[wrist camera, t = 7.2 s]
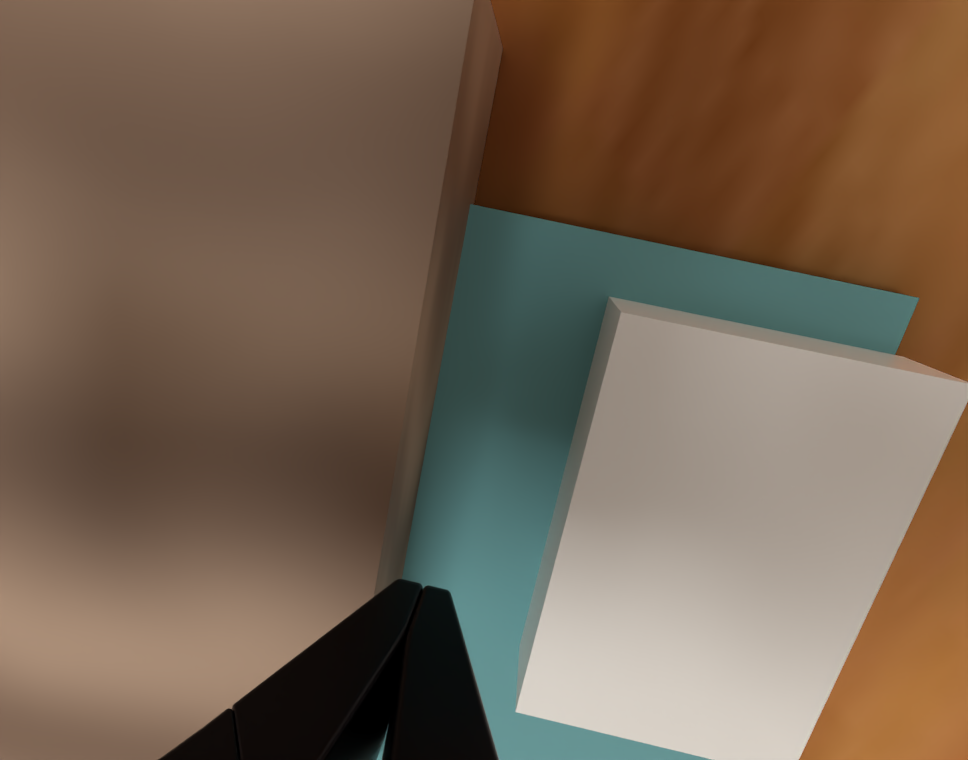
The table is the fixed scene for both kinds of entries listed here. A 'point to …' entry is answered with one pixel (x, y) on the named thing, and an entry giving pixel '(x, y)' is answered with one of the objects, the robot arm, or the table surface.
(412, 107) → the brown flat block
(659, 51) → the table surface
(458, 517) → the mat
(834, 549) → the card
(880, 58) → the table surface
